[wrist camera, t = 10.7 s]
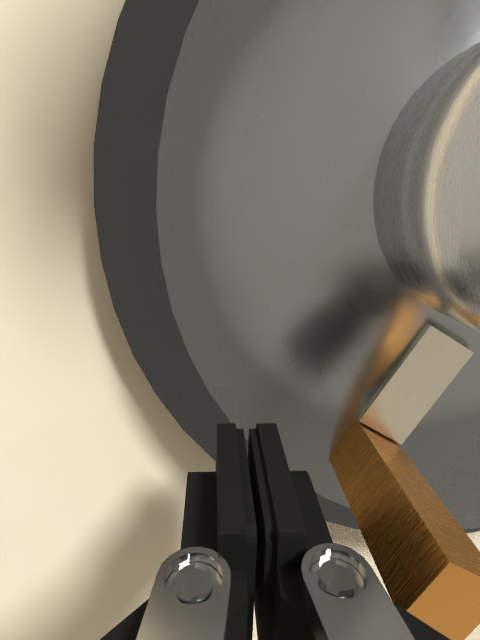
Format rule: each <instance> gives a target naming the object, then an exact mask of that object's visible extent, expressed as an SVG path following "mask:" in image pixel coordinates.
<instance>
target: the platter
mask: <svg viewBox="0 0 480 640" xmlns="http://www.w3.org/2000/svg"><path fill="white" fill-rule="evenodd" d="M478 42H480V0H199V2H198V4H197V7H196V9H195V11H194V14H193V16H192V18H191V21H190V23H189V25H188V28H187V30H186V32H185V35H184V39H183V42H182V46H181V49H180V53H179V56H178V59H177V63H176V66H175V70H174V73H173V77H172V80H171V84H170V87H169V91H168V94H167V100H166V106H165V113H164V119H163V125H162V132H161V138H160V144H159V150H158V169H157V199H156V213H157V224H158V234H159V245H160V255H161V264H162V268H163V273H164V277H165V281H166V286H167V290H168V294H169V299H170V303H171V307H172V311H173V314H174V317H175V319H176V322H177V325H178V327H179V330H180V333H181V335H182V338H183V341H184V343H185V346H186V349H187V351H188V354H189V356H190V358H191V360H192V361H193V363H194V365H195V367H196V369H197V371H198V373H199V374H200V376H201V378H202V380H203V382H204V384H205V386H206V387H207V389H208V391H209V393H210V394H211V396H212V397H213V398H214V400H215V401H216V402H217V404H218V405H219V407H220V408H221V409H222V411H223V412H224V413H225V415H226V416H227V417H228V419H229V420H230V422H231V423H236V429H244V436H245V438H246V439H247V440H248V436H249V429H256V424H257V423H276V425H277V428H278V431H279V435H280V439H281V442H282V446H283V449H284V453H285V456H286V460H287V463H288V467H289V470H290V471H307V472H308V474H309V476H310V479H311V482H312V484H313V487H314V490H315V492H316V493H317V494H319V495H321V496H323V497H324V498H326V499H329V500H331V501H333V502H336V503H338V504H341V505H343V506H345V507H348V508H350V509H351V510H352V512H353V514H354V516H355V519H356V521H357V523H358V525H359V528H360V530H361V532H362V534H363V537H364V539H365V541H366V543H367V546H368V548H369V550H370V552H371V555H372V557H373V559H374V561H375V564H376V566H377V568H378V570H379V573H380V575H381V577H382V579H383V582H384V584H385V586H386V588H387V591H388V593H389V595H390V597H391V600H392V602H393V603H395V604H396V605H398V606H400V607H401V608H403V609H404V610H406V611H407V612H409V613H410V614H412V615H413V616H415V617H416V618H418V619H420V620H421V621H423V622H424V623H426V624H427V625H429V626H430V627H432V628H433V629H435V630H437V631H438V632H440V633H441V634H443V635H444V636H446V637H447V638H449V639H450V640H464V639H465V638H466V637H467V636H468V635H469V634H470V633H471V632H472V631H473V630H474V629H475V628H476V627H477V626H478V625H479V624H480V552H479V550H478V549H477V548H476V546H475V545H474V544H473V542H472V541H471V540H470V538H469V537H468V536H467V534H466V533H465V532H464V530H463V529H475V528H480V332H478V331H476V330H474V329H472V328H470V327H468V326H466V325H464V324H462V323H460V322H458V321H456V320H454V319H452V318H450V317H448V316H446V315H444V314H442V313H440V312H438V311H436V310H434V309H432V308H430V307H428V306H427V305H425V304H423V303H422V302H420V301H419V300H418V299H416V298H415V297H414V296H413V295H411V294H410V293H409V292H408V291H407V290H406V289H405V288H404V287H403V286H402V285H401V284H400V282H399V281H398V280H397V278H396V277H395V275H394V274H393V273H392V271H391V270H390V268H389V266H388V264H387V262H386V260H385V258H384V256H383V254H382V251H381V248H380V245H379V242H378V239H377V234H376V229H375V224H374V212H373V194H374V182H375V177H376V171H377V166H378V162H379V159H380V156H381V152H382V149H383V146H384V144H385V141H386V139H387V137H388V134H389V132H390V130H391V128H392V126H393V124H394V122H395V121H396V119H397V117H398V115H399V114H400V112H401V110H402V109H403V107H404V106H405V104H406V103H407V102H408V100H409V99H410V98H411V96H412V95H413V94H414V92H415V91H416V90H417V89H418V88H419V87H420V86H421V85H422V84H423V83H424V82H425V81H426V80H427V78H428V77H429V76H430V75H432V74H433V73H434V72H435V71H436V70H438V69H439V68H440V67H441V66H442V65H444V64H445V63H446V62H448V61H449V60H451V59H452V58H454V57H455V56H457V55H458V54H460V53H462V52H463V51H465V50H466V49H468V48H470V47H471V46H473V45H475V44H477V43H478Z"/></svg>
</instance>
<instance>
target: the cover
mask: <svg viewBox="0 0 480 640" xmlns="http://www.w3.org/2000/svg"><path fill="white" fill-rule="evenodd" d="M373 212H374V224H375V229H376V234H377V239H378V242H379V245H380V248H381V251H382V254H383V256H384V258H385V260H386V262H387V264H388V266H389V268H390V270H391V271H392V273H393V274H394V275H395V277H396V278H397V280H398V281H399V282H400V284H401V285H402V286H403V287H404V288H405V289H406V290H407V291H408V292H409V293H410V294H411V295H413V296H414V297H415V298H416V299H418V300H419V301H420V302H422V303H423V304H425V305H427V306H428V307H430V308H432V309H434V310H436V311H438V312H440V313H442V314H444V315H446V316H448V317H450V318H452V319H454V320H456V321H458V322H460V323H462V324H464V325H466V326H468V327H470V328H472V329H474V330H476V331H478V332H480V42H478V43H477V44H475V45H473V46H471V47H470V48H468V49H466V50H465V51H463V52H462V53H460V54H458V55H457V56H455V57H454V58H452V59H451V60H449V61H448V62H446V63H445V64H444V65H442V66H441V67H440V68H439V69H438V70H436V71H435V72H434V73H433V74H432V75H430V76H429V77H428V78H427V80H426V81H425V82H424V83H423V84H422V85H421V86H420V87H419V88H418V89H417V90H416V91H415V92H414V94H413V95H412V96H411V98H410V99H409V100H408V102H407V103H406V104H405V106H404V107H403V109H402V110H401V112H400V114H399V115H398V117H397V119H396V121H395V122H394V124H393V126H392V128H391V130H390V132H389V134H388V137H387V139H386V141H385V144H384V146H383V149H382V152H381V156H380V159H379V162H378V166H377V171H376V177H375V182H374V194H373Z"/></svg>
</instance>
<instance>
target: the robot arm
mask: <svg viewBox="0 0 480 640" xmlns="http://www.w3.org/2000/svg"><path fill="white" fill-rule="evenodd" d="M254 606H255V616H256V626H257V635H258V640H450V639H449V638H447V637H446V636H444V635H443V634H441V633H440V632H438V631H437V630H435V629H433V628H432V627H430V626H429V625H427V624H426V623H424V622H423V621H421V620H420V619H418V618H416V617H415V616H413V615H412V614H410V613H409V612H407V611H406V610H404V609H403V608H401V607H400V606H398V605H396V604H395V603H393V602H392V601H391V599H390V597H389V596H388V594H387V592H386V591H385V589H384V587H383V586H382V584H381V582H380V581H379V579H378V577H377V576H376V574H375V573H374V571H373V569H372V568H371V566H370V565H369V564H368V562H367V561H366V560H365V559H364V557H362V556H361V555H360V554H358V553H357V552H356V551H354V550H352V549H350V548H348V547H346V546H343V545H339V544H334V543H333V542H332V539H331V536H330V533H329V530H328V527H327V524H326V522H325V519H324V516H323V513H322V510H321V507H320V504H319V502H318V499H317V496H316V493H315V490H314V487H313V484H312V482H311V479H310V476H309V474H308V472H307V471H290V470H289V467H288V463H287V460H286V456H285V453H284V449H283V446H282V442H281V439H280V435H279V431H278V428H277V425H276V423H257V424H256V429H249V436H248V459H247V451H246V443H245V436H244V429H236V423H221V424H217V431H216V472H188V477H187V487H186V498H185V509H184V519H183V530H182V541H181V550H179V551H177V552H175V553H174V554H172V555H170V556H169V557H168V558H167V559H166V560H165V561H164V562H163V563H162V565H161V567H160V569H159V571H158V573H157V576H156V579H155V582H154V585H153V588H152V591H151V594H150V598H149V599H148V600H147V601H146V602H145V603H143V604H142V605H141V606H140V607H139V608H137V609H136V610H135V611H134V612H132V613H131V614H130V615H129V616H128V617H126V618H125V619H124V620H123V621H122V622H120V623H119V624H118V625H117V626H116V627H114V628H113V629H112V630H111V631H110V632H108V633H107V634H106V635H105V636H104V637H102V638H101V639H100V640H252V631H253V611H254Z"/></svg>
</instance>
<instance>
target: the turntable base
mask: <svg viewBox="0 0 480 640" xmlns="http://www.w3.org/2000/svg"><path fill="white" fill-rule="evenodd" d="M198 2H199V0H126V1H125V4H124V6H123V9H122V11H121V14H120V16H119V19H118V22H117V26H116V30H115V34H114V38H113V42H112V45H111V49H110V53H109V57H108V61H107V65H106V69H105V73H104V77H103V81H102V85H101V93H100V101H99V109H98V117H97V125H96V134H95V142H94V208H95V215H96V223H97V230H98V238H99V246H100V253H101V260H102V264H103V268H104V271H105V275H106V279H107V283H108V286H109V290H110V294H111V298H112V301H113V305H114V309H115V312H116V314H117V316H118V319H119V321H120V324H121V326H122V329H123V331H124V333H125V336H126V338H127V341H128V343H129V345H130V348H131V350H132V353H133V355H134V357H135V359H136V360H137V362H138V364H139V365H140V367H141V369H142V371H143V372H144V374H145V376H146V378H147V379H148V381H149V383H150V384H151V386H152V388H153V390H154V391H155V393H156V395H157V396H158V397H159V399H160V400H161V401H162V403H163V404H164V405H165V406H166V408H167V409H168V410H169V412H170V413H171V414H172V416H173V417H174V418H175V419H176V421H177V422H178V423H179V425H180V426H181V427H182V428H183V430H184V431H185V432H186V433H187V434H188V435H189V436H190V437H191V438H192V439H193V440H194V441H195V442H196V443H197V444H198V445H199V446H201V447H202V448H203V449H204V450H205V451H206V452H207V453H208V454H209V455H210V456H211V457H212V458H213V459H214V460H215V461H216V431H217V424H221V423H231V422H230V420H229V419H228V417H227V416H226V415H225V413H224V412H223V411H222V409H221V408H220V407H219V405H218V404H217V402H216V401H215V400H214V398H213V397H212V396H211V394H210V393H209V391H208V389H207V387H206V386H205V384H204V382H203V380H202V378H201V376H200V374H199V373H198V371H197V369H196V367H195V365H194V363H193V361H192V360H191V358H190V356H189V354H188V351H187V349H186V346H185V343H184V341H183V338H182V335H181V333H180V330H179V327H178V325H177V322H176V319H175V317H174V314H173V311H172V307H171V303H170V299H169V294H168V290H167V286H166V281H165V277H164V273H163V268H162V264H161V255H160V245H159V234H158V224H157V213H156V199H157V169H158V150H159V144H160V138H161V132H162V125H163V119H164V113H165V106H166V100H167V94H168V91H169V87H170V84H171V80H172V77H173V73H174V70H175V66H176V63H177V59H178V56H179V53H180V49H181V46H182V42H183V39H184V35H185V32H186V30H187V28H188V25H189V23H190V21H191V18H192V16H193V14H194V11H195V9H196V7H197V4H198ZM245 443H246V451H247V459H248V440H247V439H246V438H245ZM315 493H316V492H315ZM316 496H317V499H318V502H319V504H320V507H321V510H322V513H323V516H324V519H325V521H328V522H332V523H336V524H340V525H343V526H347V527H351V528H354V529H360V528H359V525H358V523H357V521H356V519H355V516H354V514H353V512H352V510H351V509H350V508H348V507H345V506H343V505H341V504H338V503H336V502H333V501H331V500H329V499H326V498H324V497H323V496H321V495H319V494H317V493H316ZM463 530H464V532H465V533H469V532H476V531H480V528H475V529H463Z"/></svg>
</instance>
